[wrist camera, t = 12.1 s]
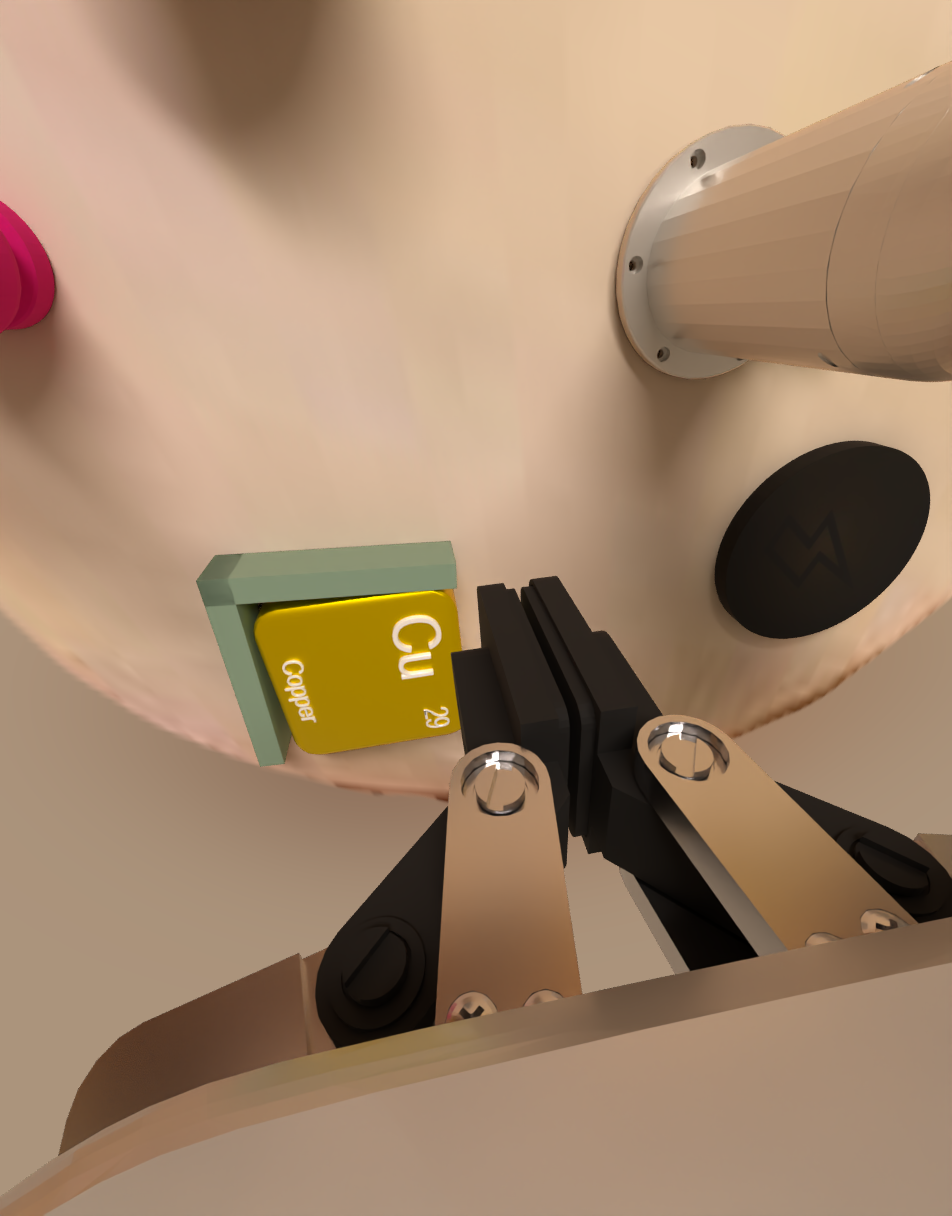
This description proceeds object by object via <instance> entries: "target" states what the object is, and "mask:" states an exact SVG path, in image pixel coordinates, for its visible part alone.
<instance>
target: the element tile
mask: <svg viewBox="0 0 952 1216" xmlns="http://www.w3.org/2000/svg"><path fill="white" fill-rule="evenodd" d="M253 632H254V637H255V641H256V644H257V646H258V649H259V651H260V654H261V656H262V659H263V661H264V664H265V667H266V669H267V672H268V674H269V677H270V679H271V682H272V684H273V687H274V690H275V692H276V695H277V697H278V700H279V702H280V705H281V708H282V710H283V713H284V715H285V718H286V720H287V723H288V725H289V728H290V731H291V733H292V736H293V738H294V741H295V742H296V744H297V745H298V746H299V747H300V748H301V749H302V750H303V751H306V752H307V753H310V754H330V753H336V752H342V751H348V750H355V749H361V748H367V747H373V746H379V745H385V744H391V743H398V742H404V741H410V740H416V739H422V738H428V737H435V736H441V735H447V734H451V733H454V732H456V731H458V730H460V729H461V727H460V720H459V714H458V707H457V700H456V693H455V685H454V678H453V669H452V661H451V652H458V651H462V646H461V638H460V629H459V620H458V611H457V606H456V601H455V597H454V592H453V589H441V590H428V591H414V592H400V593H387V594H373V595H359V596H346V597H332V598H318V599H305V600H291V601H277V602H264V603H263V605H262V607H261V609H260V612H259V614H258V616H257V618H256V621H255V623H254V630H253Z"/></svg>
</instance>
